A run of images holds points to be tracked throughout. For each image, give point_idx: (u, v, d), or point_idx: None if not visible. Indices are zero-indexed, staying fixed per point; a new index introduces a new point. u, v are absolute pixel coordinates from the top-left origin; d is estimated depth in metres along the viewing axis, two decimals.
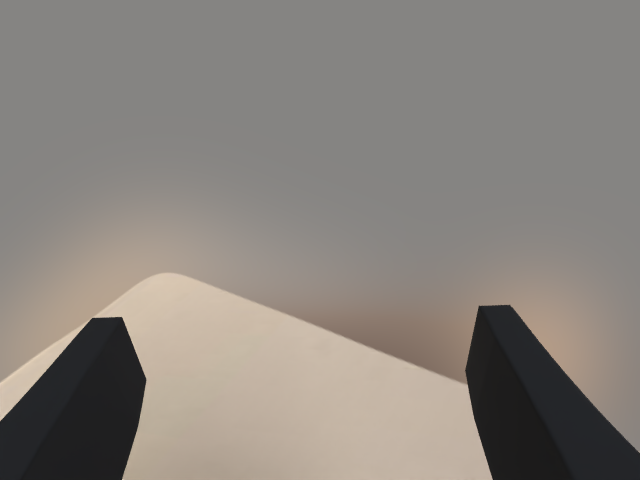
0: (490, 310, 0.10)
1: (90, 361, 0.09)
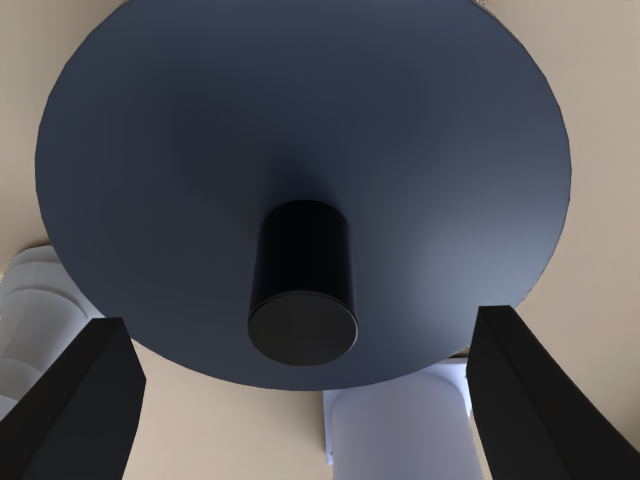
0: (491, 310, 0.10)
1: (89, 361, 0.09)
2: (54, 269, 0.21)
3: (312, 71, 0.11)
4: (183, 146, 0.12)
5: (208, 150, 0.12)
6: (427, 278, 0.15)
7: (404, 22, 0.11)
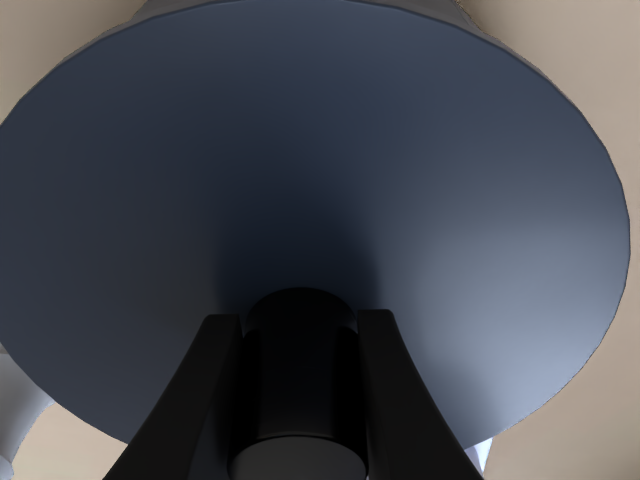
0: (368, 314, 0.10)
1: (222, 357, 0.09)
2: None
3: (309, 143, 0.09)
4: (149, 229, 0.10)
5: (181, 232, 0.10)
6: (448, 369, 0.13)
7: (429, 84, 0.08)
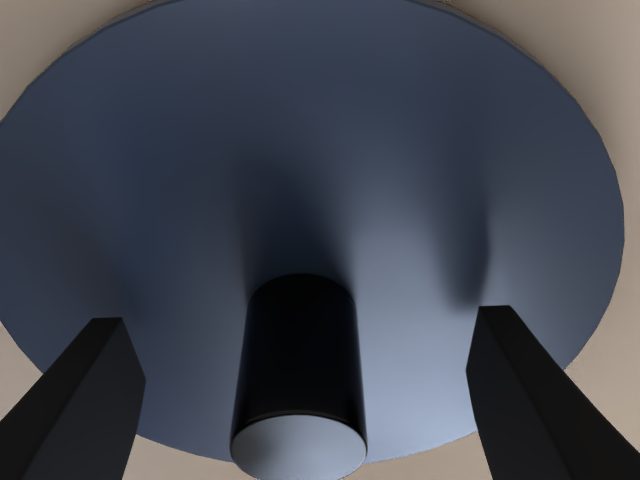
0: (491, 311, 0.10)
1: (89, 361, 0.09)
2: None
3: (310, 129, 0.09)
4: (152, 215, 0.10)
5: (184, 218, 0.10)
6: (446, 355, 0.13)
7: (426, 71, 0.08)
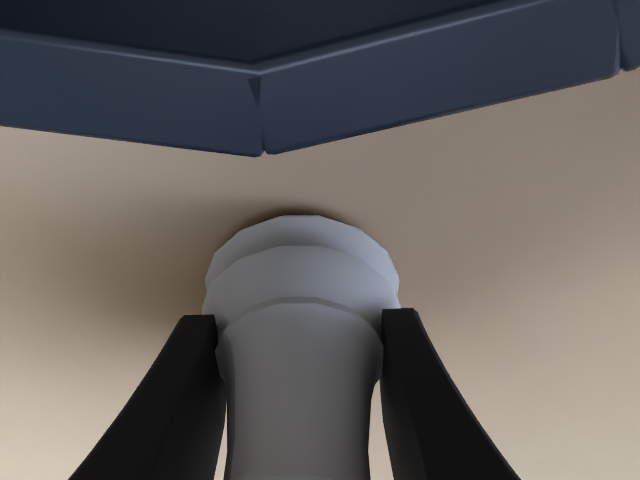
0: (393, 314, 0.10)
1: (194, 358, 0.09)
2: (234, 274, 0.10)
3: None
4: None
5: None
6: None
7: None
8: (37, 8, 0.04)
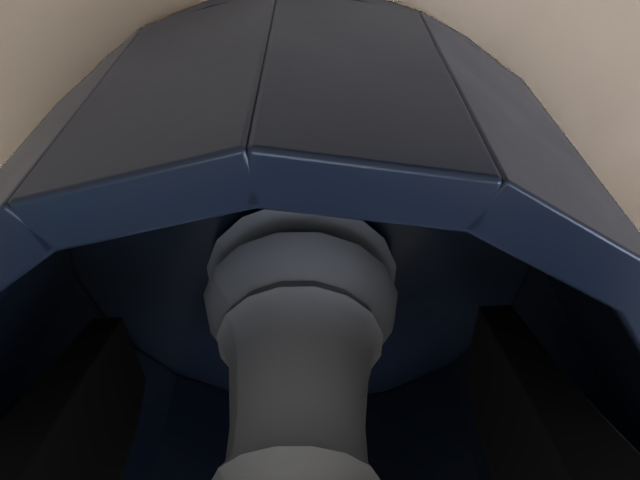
0: (491, 310, 0.10)
1: (89, 361, 0.09)
2: (236, 259, 0.11)
3: None
4: None
5: None
6: None
7: None
8: None
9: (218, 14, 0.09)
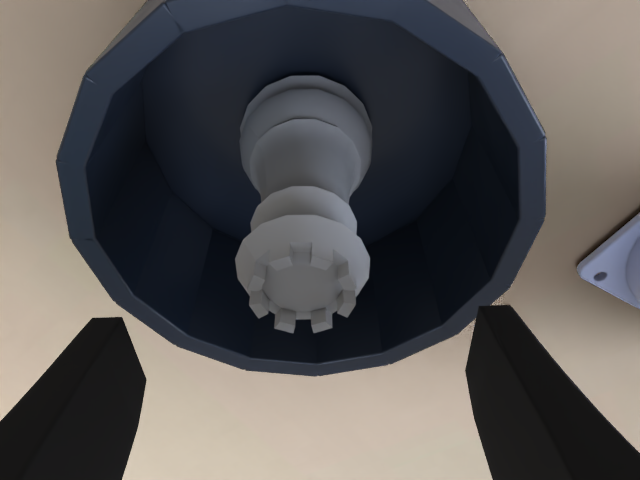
0: (491, 310, 0.10)
1: (89, 361, 0.09)
2: (263, 108, 0.16)
3: None
4: None
5: None
6: None
7: None
8: (273, 349, 0.18)
9: None
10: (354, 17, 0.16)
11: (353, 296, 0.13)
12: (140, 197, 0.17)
